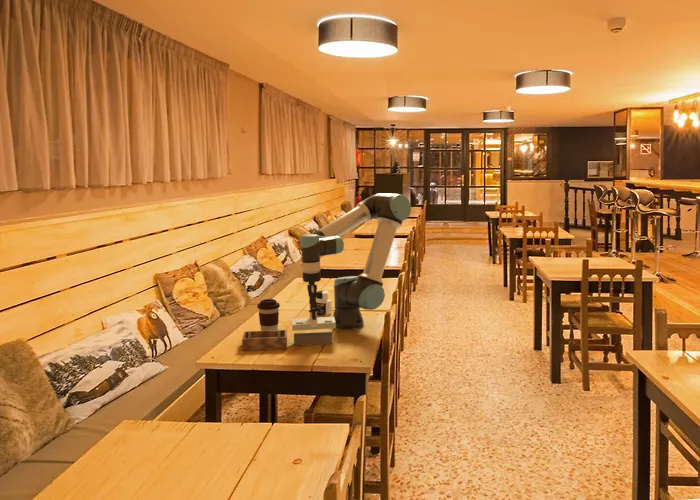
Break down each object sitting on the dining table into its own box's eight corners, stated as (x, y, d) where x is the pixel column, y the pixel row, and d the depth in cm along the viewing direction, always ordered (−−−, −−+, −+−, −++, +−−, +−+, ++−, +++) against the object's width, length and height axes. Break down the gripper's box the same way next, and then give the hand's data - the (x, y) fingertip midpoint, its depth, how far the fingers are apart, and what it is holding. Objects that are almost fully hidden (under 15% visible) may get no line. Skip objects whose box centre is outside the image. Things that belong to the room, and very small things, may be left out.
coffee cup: (276, 336, 283) (275, 303, 281) (255, 335, 285) (253, 302, 283) (283, 330, 292) (282, 298, 290) (262, 329, 294) (261, 297, 292)
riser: (331, 341, 274) (331, 331, 274) (332, 343, 270) (332, 334, 270) (294, 342, 273) (293, 333, 272) (294, 345, 269) (293, 335, 268)
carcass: (287, 341, 275) (286, 323, 274) (286, 349, 263) (286, 330, 262) (244, 342, 273) (243, 324, 272) (242, 351, 261) (241, 332, 260)
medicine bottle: (313, 315, 320) (312, 292, 319) (319, 312, 327) (318, 289, 325) (326, 316, 317) (325, 293, 316) (331, 313, 324) (331, 290, 322)
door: (334, 322, 277) (334, 314, 276) (335, 328, 267) (335, 320, 266) (292, 324, 275) (292, 316, 275) (292, 330, 265) (292, 322, 265)
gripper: (301, 267, 278) (304, 317, 281) (302, 277, 256) (305, 331, 259) (319, 266, 279) (321, 316, 282) (321, 276, 257) (324, 330, 260)
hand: (313, 323), depth 271 cm, fingers closed on door, 10 cm apart
